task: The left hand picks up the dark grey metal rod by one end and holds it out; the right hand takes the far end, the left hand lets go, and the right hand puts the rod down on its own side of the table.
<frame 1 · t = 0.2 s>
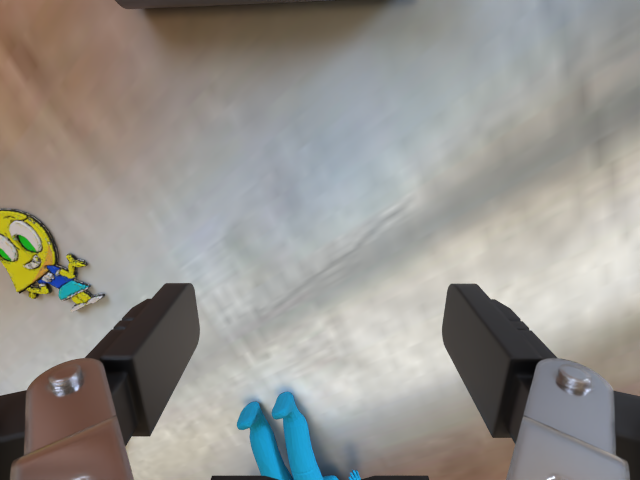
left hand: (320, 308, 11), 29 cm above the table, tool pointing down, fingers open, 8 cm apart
toy: (305, 460, 53), on the table
toy 2: (38, 259, 42), on the table
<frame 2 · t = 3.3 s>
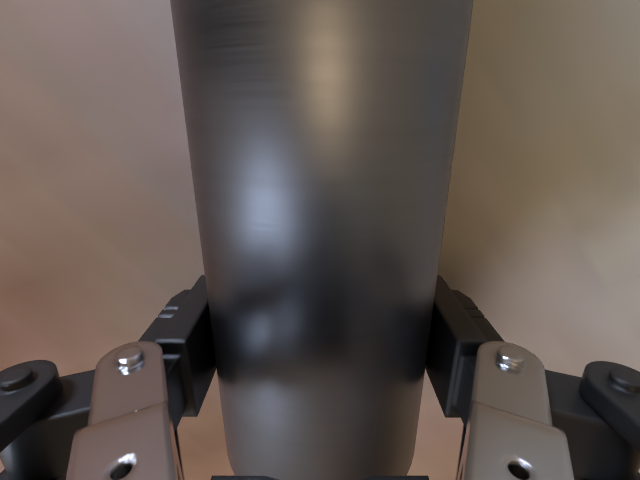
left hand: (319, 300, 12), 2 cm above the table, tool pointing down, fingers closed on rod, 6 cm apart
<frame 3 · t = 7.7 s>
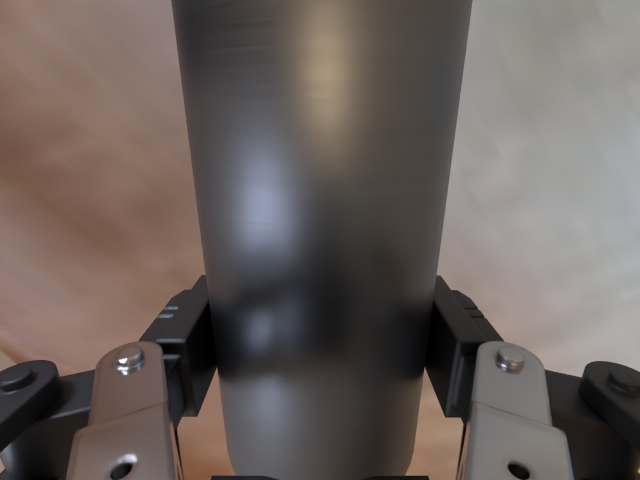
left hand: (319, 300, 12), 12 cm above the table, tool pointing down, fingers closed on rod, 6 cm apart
when the right hand's fingers open (4 cm above the table, at t = 15.8 s): rod stays where it is, on the table.
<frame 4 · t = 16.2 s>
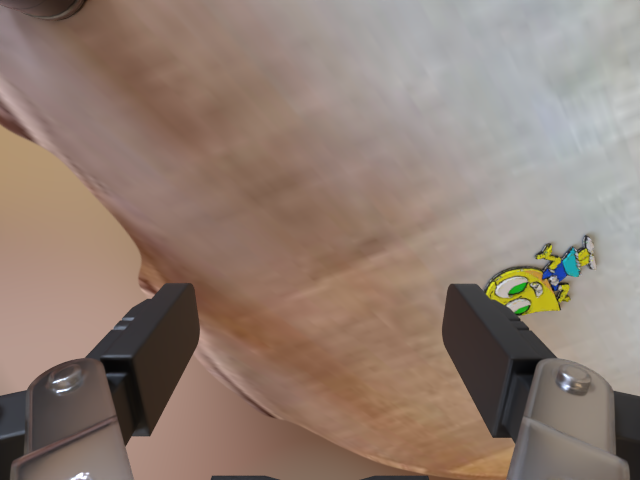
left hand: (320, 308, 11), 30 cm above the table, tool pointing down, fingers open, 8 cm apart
toy 2: (532, 285, 45), on the table
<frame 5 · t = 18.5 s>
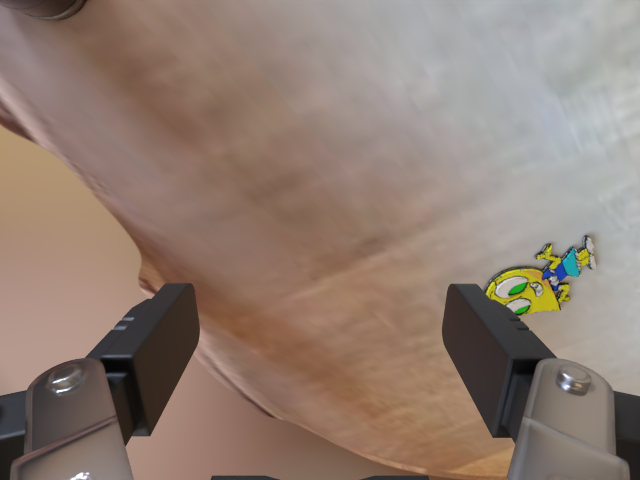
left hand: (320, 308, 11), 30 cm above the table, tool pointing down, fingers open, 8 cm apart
toy 2: (532, 285, 45), on the table
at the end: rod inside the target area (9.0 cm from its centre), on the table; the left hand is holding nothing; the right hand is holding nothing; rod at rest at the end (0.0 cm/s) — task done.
